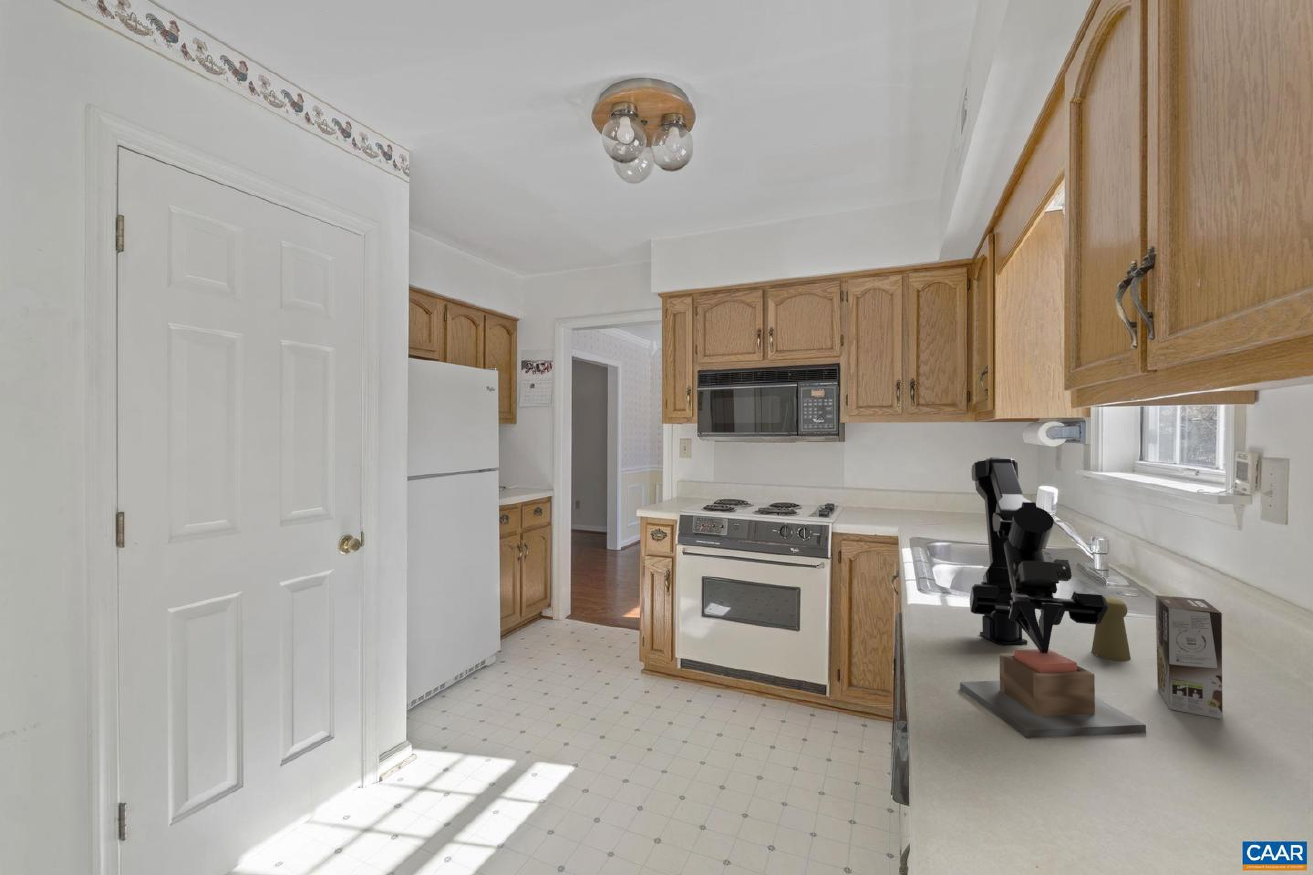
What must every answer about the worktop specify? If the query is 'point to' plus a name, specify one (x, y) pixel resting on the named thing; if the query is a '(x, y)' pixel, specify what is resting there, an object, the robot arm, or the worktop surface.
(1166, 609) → the coffee box
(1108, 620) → the cork
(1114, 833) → the worktop surface
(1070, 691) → the stand
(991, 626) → the robot arm
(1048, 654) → the pink eraser block
